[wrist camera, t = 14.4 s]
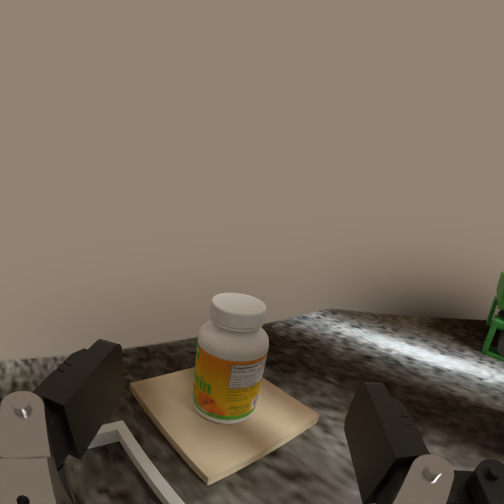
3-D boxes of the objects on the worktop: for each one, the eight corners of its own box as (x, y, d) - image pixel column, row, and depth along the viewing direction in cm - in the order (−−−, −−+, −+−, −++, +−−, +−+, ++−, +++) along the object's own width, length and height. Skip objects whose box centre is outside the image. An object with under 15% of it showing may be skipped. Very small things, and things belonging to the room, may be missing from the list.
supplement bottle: (183, 390, 25) (191, 289, 23) (237, 382, 28) (253, 288, 26) (206, 431, 21) (219, 321, 19) (266, 417, 23) (291, 314, 21)
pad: (231, 363, 33) (232, 355, 33) (316, 422, 24) (319, 414, 24) (130, 391, 25) (129, 382, 24) (207, 485, 16) (208, 478, 16)
